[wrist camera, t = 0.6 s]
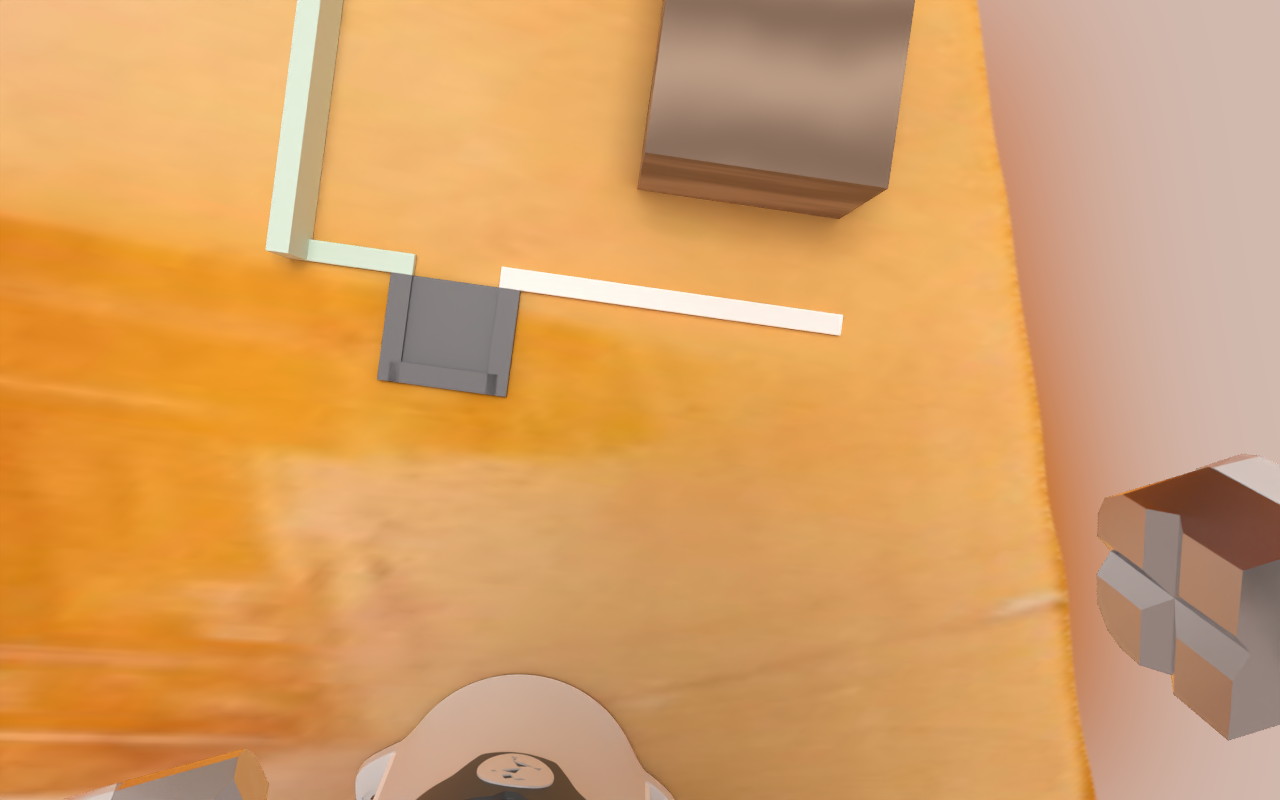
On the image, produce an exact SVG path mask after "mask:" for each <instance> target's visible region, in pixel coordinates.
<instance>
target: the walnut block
mask: <svg viewBox="0 0 1280 800" xmlns="http://www.w3.org/2000/svg"><path fill="white" fill-rule="evenodd" d="M914 3H915V0H663V5H662V12H661V19H660V27H659V34H658V41H657V49H656V56H655V63H654V70H653V78H652V85H651V92H650V100H649V107H648V114H647V122H646V129H645V136H644V144H643V151H642V158H641V165H640V173H639V180H638V187H637V189H639V190H646V191H652V192H659V193H666V194H673V195H680V196H687V197H693V198H700V199H707V200H714V201H721V202H728V203H734V204H741V205H748V206H755V207H762V208H769V209H776V210H782V211H789V212H796V213H803V214H810V215H817V216H823V217H830V218H837V219H840V218H841V217H843V216H845V215H846V214H848V213H849V212H851V211H853V210H854V209H856V208H857V207H859V206H861V205H862V204H864V203H865V202H867V201H869V200H870V199H872V198H873V197H875V196H877V195H878V194H880V193H881V192H883V191H885V190H886V189H888V185H889V178H890V171H891V164H892V157H893V150H894V143H895V136H896V129H897V122H898V115H899V108H900V101H901V94H902V87H903V80H904V73H905V66H906V59H907V52H908V45H909V38H910V31H911V24H912V17H913V10H914Z"/></svg>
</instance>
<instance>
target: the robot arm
mask: <svg viewBox="0 0 1280 800" xmlns="http://www.w3.org/2000/svg"><path fill="white" fill-rule="evenodd" d="M1097 536H1098V537H1099V538H1100V540H1101V541H1102V542H1103V543H1104V544H1105V545H1106V546H1107V547H1108V548H1109V549H1110V550H1111V551H1110V553H1109V555H1108V557H1107V558H1106V560H1105V561H1104V563H1103V565H1102V567H1101V568H1100V570H1099V571H1098V573H1097V604H1098V606H1099V609H1100V611H1101V614H1102V617H1103V619H1104V622H1105V624H1106V627H1107V630H1108V631H1109V633H1110V634H1111V635H1112V637H1113V638H1114V640H1115V641H1116V642H1117V644H1118V645H1119V647H1120V648H1121V649H1122V650H1123V651H1124V652H1125V653H1126V654H1128V655H1129V656H1130V657H1131V658H1132V659H1133V660H1134V661H1136V662H1137V663H1138V664H1139V665H1141V666H1144V667H1147V668H1151V669H1154V670H1157V671H1160V672H1164V673H1166V674H1170V675H1171V679H1172V687H1173V694H1174V695H1175V696H1176V697H1177V698H1179V699H1180V700H1181V701H1182V702H1183V703H1184V704H1186V705H1187V706H1188V707H1189V708H1191V710H1193V711H1194V712H1195V713H1196V714H1197V715H1199V716H1200V717H1201V718H1202V719H1203V720H1204V721H1206V722H1207V723H1208V724H1209V725H1211V726H1212V727H1213V728H1214V729H1215V730H1216V731H1218V732H1219V733H1220V734H1221V735H1222V736H1223V737H1225V738H1226V739H1227V740H1231V739H1235V738H1238V737H1241V736H1245V735H1248V734H1251V733H1254V732H1257V731H1261V730H1264V729H1267V728H1270V727H1274V726H1277V725H1280V465H1278V464H1276V463H1274V462H1272V461H1270V460H1268V459H1266V458H1264V457H1261V456H1257V455H1247V454H1240V455H1237V456H1234V457H1231V458H1228V459H1224V460H1221V461H1218V462H1216V463H1212V464H1209V465H1206V466H1203V467H1200V468H1197V469H1196V470H1195V471H1193V472H1189V473H1186V474H1183V475H1179V476H1176V477H1173V478H1169V479H1166V480H1163V481H1159V482H1156V483H1153V484H1149V485H1146V486H1143V487H1140V488H1136V489H1133V490H1129V491H1126V492H1123V493H1119V494H1117V495H1113V496H1109V497H1106V498H1105V499H1104V501H1103V503H1102V506H1101V508H1100V510H1099V512H1098V529H1097ZM268 786H269V783H268V781H267V779H266V777H265V774H264V772H263V770H262V768H261V766H260V764H259V761H258V759H257V757H256V755H255V754H254V753H252V752H250V751H249V750H247V749H241V750H237V751H234V752H230V753H226V754H223V755H219V756H215V757H211V758H208V759H204V760H200V761H197V762H193V763H189V764H186V765H182V766H178V767H175V768H171V769H167V770H163V771H160V772H156V773H152V774H149V775H145V776H141V777H138V778H134V779H130V780H126V781H125V782H124V783H116V784H113V785H109V786H106V787H102V788H99V789H96V790H92V791H89V792H85V793H82V794H78V795H75V796H71V797H68V798H64V799H62V800H267V794H268ZM355 793H356V800H675V799H674V798H673V796H672V795H671V793H670V792H669V791H668V790H667V789H666V788H665V787H664V786H663V785H662V784H661V783H659V782H658V781H657V780H656V779H655V778H654V777H652V776H651V775H650V774H649V773H647V772H646V771H645V770H644V769H643V767H642V766H641V764H640V763H639V761H638V759H637V758H636V756H635V754H634V751H633V749H632V747H631V745H630V743H629V741H628V739H627V737H626V736H625V734H624V732H623V731H622V729H621V728H620V726H619V725H618V723H617V722H616V721H615V719H614V718H613V717H612V716H611V715H610V714H609V713H608V712H607V710H606V709H604V708H603V707H602V706H601V705H600V704H599V703H598V702H597V701H595V700H594V699H593V698H591V697H590V696H588V695H587V694H585V693H584V692H582V691H580V690H579V689H577V688H575V687H573V686H571V685H568V684H566V683H563V682H561V681H558V680H554V679H551V678H547V677H542V676H536V675H526V674H514V675H502V676H496V677H491V678H487V679H484V680H480V681H477V682H475V683H472V684H470V685H467V686H465V687H463V688H461V689H459V690H457V691H456V692H454V693H452V694H451V695H449V696H448V697H446V698H445V699H444V700H442V701H441V702H440V703H438V704H437V705H436V706H435V707H434V708H433V709H432V710H431V711H430V712H429V713H428V714H427V715H426V716H425V717H424V718H423V719H422V720H421V722H420V723H419V724H418V725H417V726H416V727H415V728H414V730H413V731H412V732H411V733H410V734H409V735H408V736H407V737H405V738H404V739H403V740H402V741H400V742H398V743H396V744H394V745H392V746H389V747H387V748H385V749H383V750H381V751H379V752H378V753H376V754H374V755H372V756H371V757H369V758H368V759H367V760H365V761H364V762H363V763H362V765H361V766H360V768H359V770H358V773H357V776H356V780H355ZM374 795H375V796H374ZM372 796H374V799H372Z"/></svg>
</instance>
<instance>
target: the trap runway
mask: <svg viewBox="0 0 1280 800" xmlns="http://www.w3.org/2000/svg"><path fill="white" fill-rule="evenodd" d="M342 8H343V0H297V7H296V15H295V23H294V31H293V39H292V47H291V55H290V62H289V70H288V78H287V86H286V94H285V102H284V109H283V117H282V125H281V133H280V141H279V149H278V157H277V164H276V172H275V180H274V188H273V196H272V204H271V212H270V219H269V227H268V235H267V243H266V250H267V251H269V252H272V253H275V254H278V255H281V256H284V257H286V258H290V259H297V260H304V261H311V262H318V263H325V264H332V265H339V266H346V267H354V268H361V269H368V270H375V271H382V272H389V273H391V277H390V285H389V292H388V300H387V308H386V315H385V323H384V330H383V338H382V346H381V353H380V361H379V369H378V376H377V380H384V381H392V382H399V383H407V384H414V385H421V386H429V387H436V388H443V389H451V390H458V391H465V392H473V393H480V394H488V395H495V396H502V397H507V389H508V382H509V375H510V367H511V360H512V352H513V345H514V337H515V330H516V322H517V315H518V308H519V300H520V293H521V291H524V292H531V293H538V294H545V295H552V296H560V297H567V298H574V299H581V300H588V301H595V302H602V303H609V304H616V305H623V306H631V307H638V308H645V309H652V310H659V311H666V312H673V313H680V314H687V315H695V316H702V317H709V318H716V319H723V320H730V321H737V322H744V323H751V324H758V325H766V326H773V327H780V328H787V329H794V330H801V331H808V332H815V333H822V334H830V335H837V336H839V335H841V328H842V321H843V315H840V314H833V313H826V312H819V311H812V310H805V309H798V308H791V307H784V306H777V305H770V304H763V303H756V302H748V301H741V300H734V299H727V298H720V297H713V296H706V295H699V294H692V293H685V292H678V291H671V290H664V289H657V288H650V287H643V286H636V285H629V284H621V283H614V282H607V281H600V280H593V279H586V278H579V277H572V276H565V275H558V274H551V273H544V272H537V271H530V270H523V269H516V268H509V267H502V269H501V277H500V284H499V288H497V287H490V286H483V285H476V284H469V283H462V282H455V281H448V280H440V279H433V278H426V277H419V276H414V273H415V265H416V258H417V255H415V254H410V253H403V252H396V251H389V250H382V249H375V248H368V247H360V246H353V245H346V244H339V243H332V242H325V241H318V240H313V233H314V225H315V218H316V210H317V202H318V194H319V187H320V179H321V171H322V163H323V155H324V148H325V140H326V132H327V124H328V117H329V109H330V101H331V93H332V85H333V78H334V70H335V62H336V54H337V47H338V39H339V31H340V23H341V15H342Z"/></svg>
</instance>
